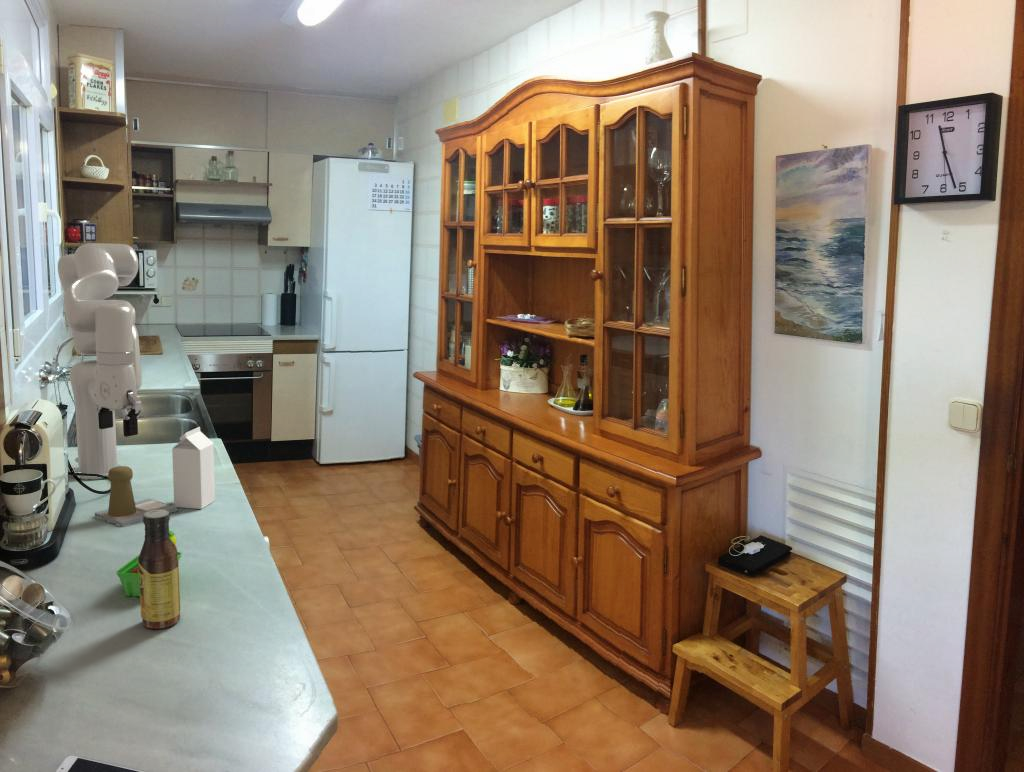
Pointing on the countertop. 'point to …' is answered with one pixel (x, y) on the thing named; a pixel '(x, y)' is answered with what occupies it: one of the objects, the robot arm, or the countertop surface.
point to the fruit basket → (136, 573)
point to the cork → (121, 492)
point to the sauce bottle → (158, 573)
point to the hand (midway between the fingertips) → (118, 431)
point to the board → (141, 508)
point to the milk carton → (193, 471)
